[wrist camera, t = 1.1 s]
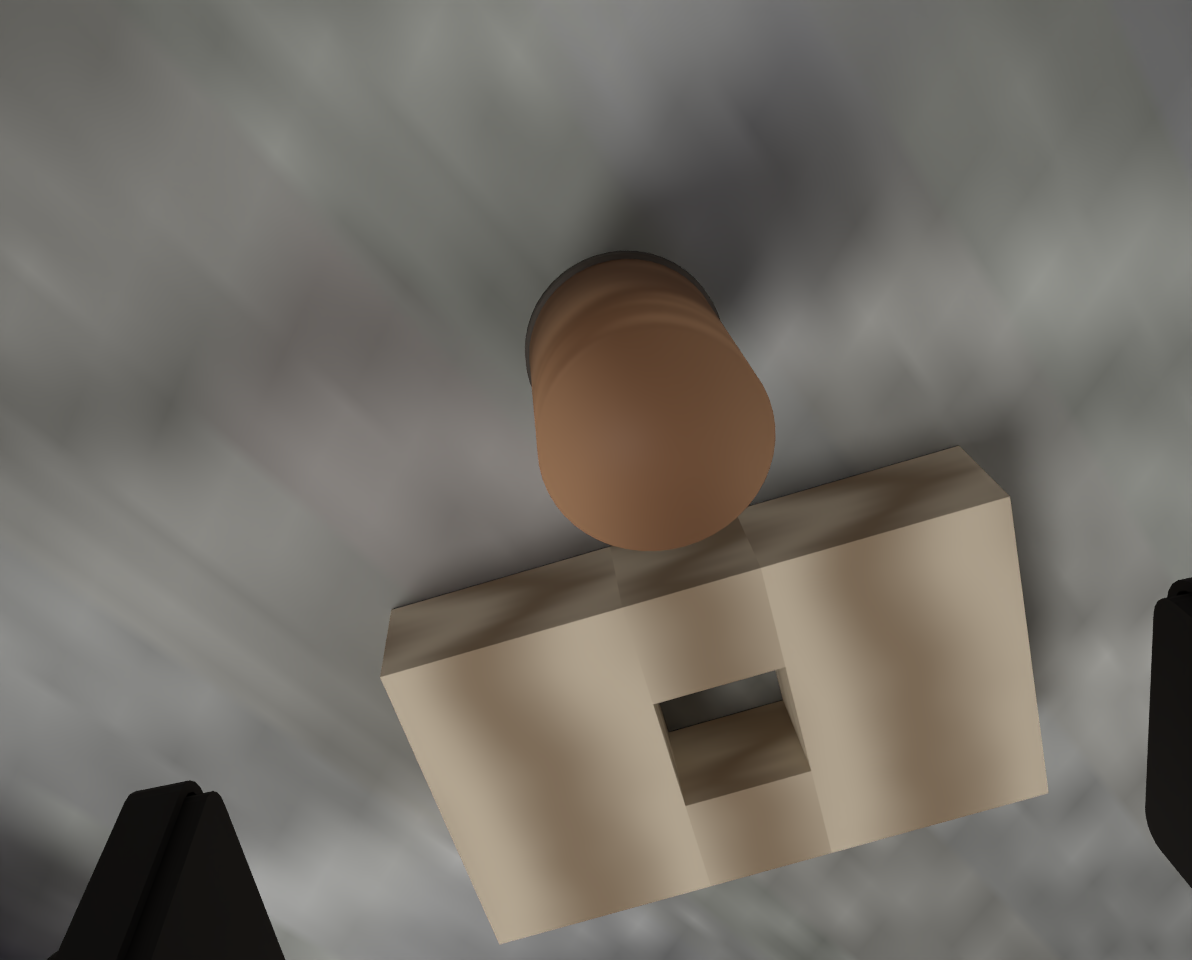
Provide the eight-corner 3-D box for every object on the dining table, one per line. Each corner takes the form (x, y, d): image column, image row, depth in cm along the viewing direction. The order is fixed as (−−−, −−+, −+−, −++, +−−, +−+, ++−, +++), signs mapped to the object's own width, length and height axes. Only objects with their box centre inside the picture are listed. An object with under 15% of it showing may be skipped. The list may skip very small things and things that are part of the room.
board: (959, 445, 37) (1009, 496, 33) (1000, 722, 42) (1048, 793, 38) (391, 609, 37) (380, 677, 34) (499, 862, 42) (499, 944, 39)
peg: (672, 197, 32) (751, 292, 22) (713, 363, 35) (801, 516, 25) (499, 250, 33) (500, 367, 23) (550, 411, 35) (572, 582, 25)
